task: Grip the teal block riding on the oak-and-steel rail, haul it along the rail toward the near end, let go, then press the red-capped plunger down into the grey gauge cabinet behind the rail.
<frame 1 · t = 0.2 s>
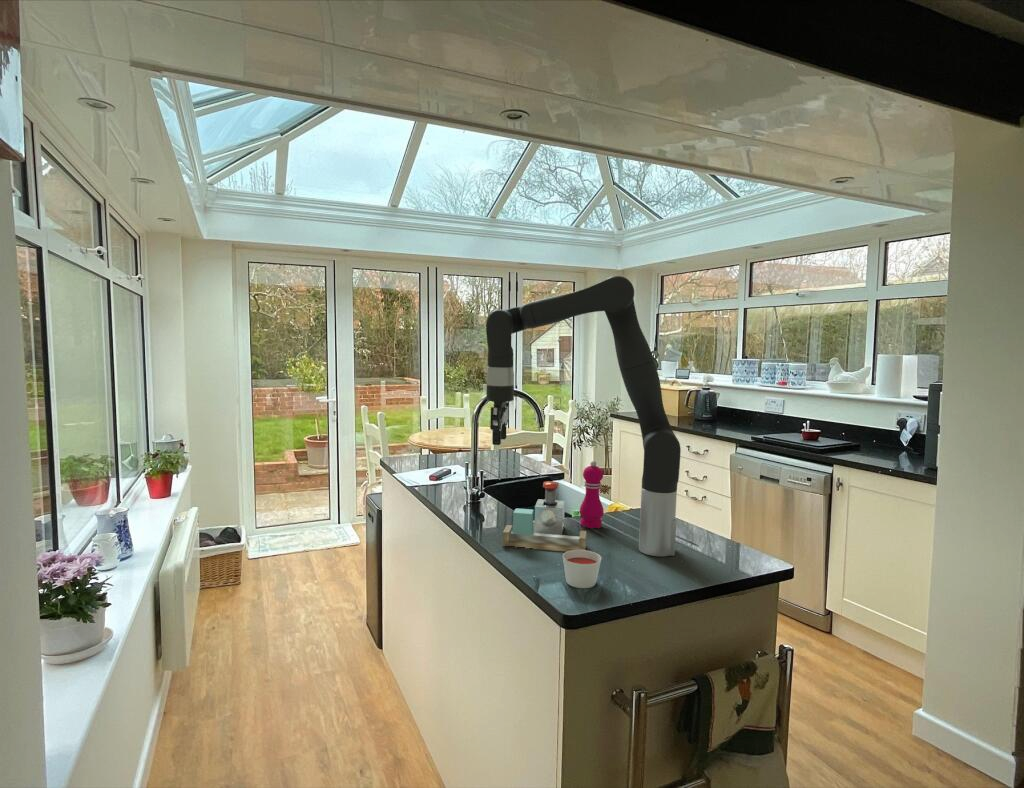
hand: (499, 441, 167), 28 cm above the countertop, tool pointing down, fingers open, 8 cm apart
rail: (544, 545, 165), on the countertop
pepper mill: (590, 526, 183), on the countertop
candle: (580, 583, 142), on the countertop
teal block: (523, 521, 165), point 6 cm above the countertop, slide at 0.0 cm
gauge cabinet: (549, 530, 178), on the countertop
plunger: (550, 498, 177), point 10 cm above the countertop, slide at 0.0 cm
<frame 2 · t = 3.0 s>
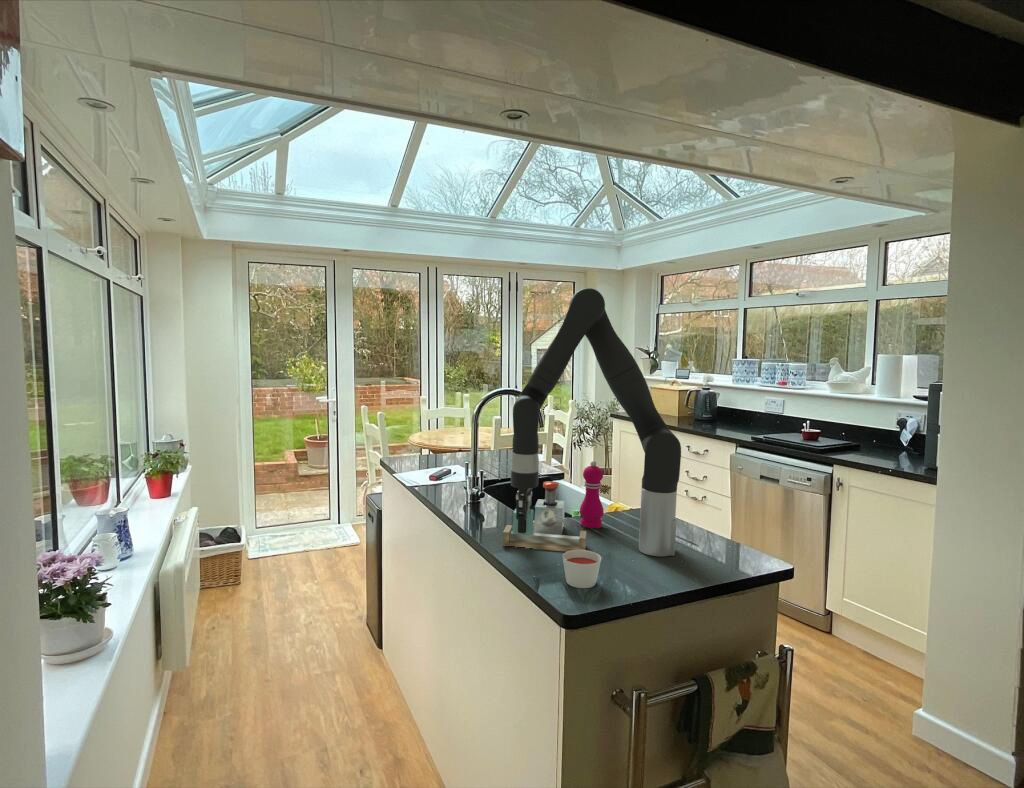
hand: (523, 529, 165), 4 cm above the countertop, tool pointing down, fingers closed on teal block, 4 cm apart
teal block: (523, 521, 165), point 6 cm above the countertop, slide at 0.0 cm, touching gripper
everything else where it was.
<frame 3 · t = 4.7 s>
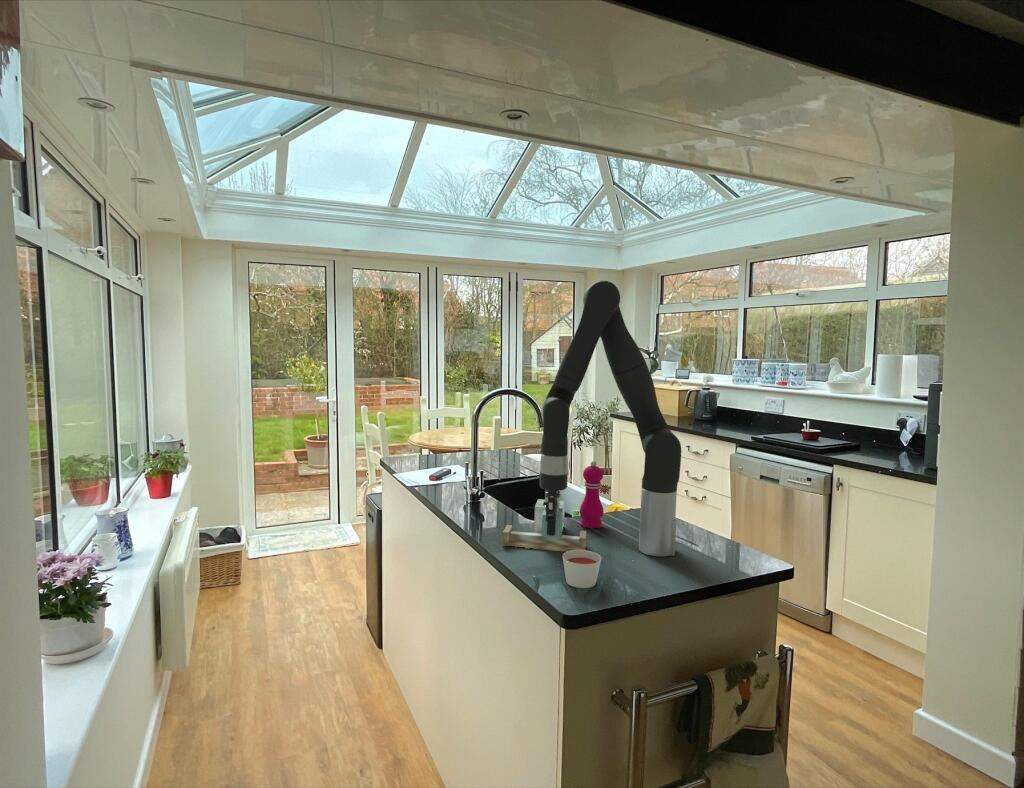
hand: (551, 531, 164), 4 cm above the countertop, tool pointing down, fingers closed on teal block, 4 cm apart
teal block: (552, 523, 164), point 6 cm above the countertop, slide at 7.9 cm, touching gripper
everything else where it was.
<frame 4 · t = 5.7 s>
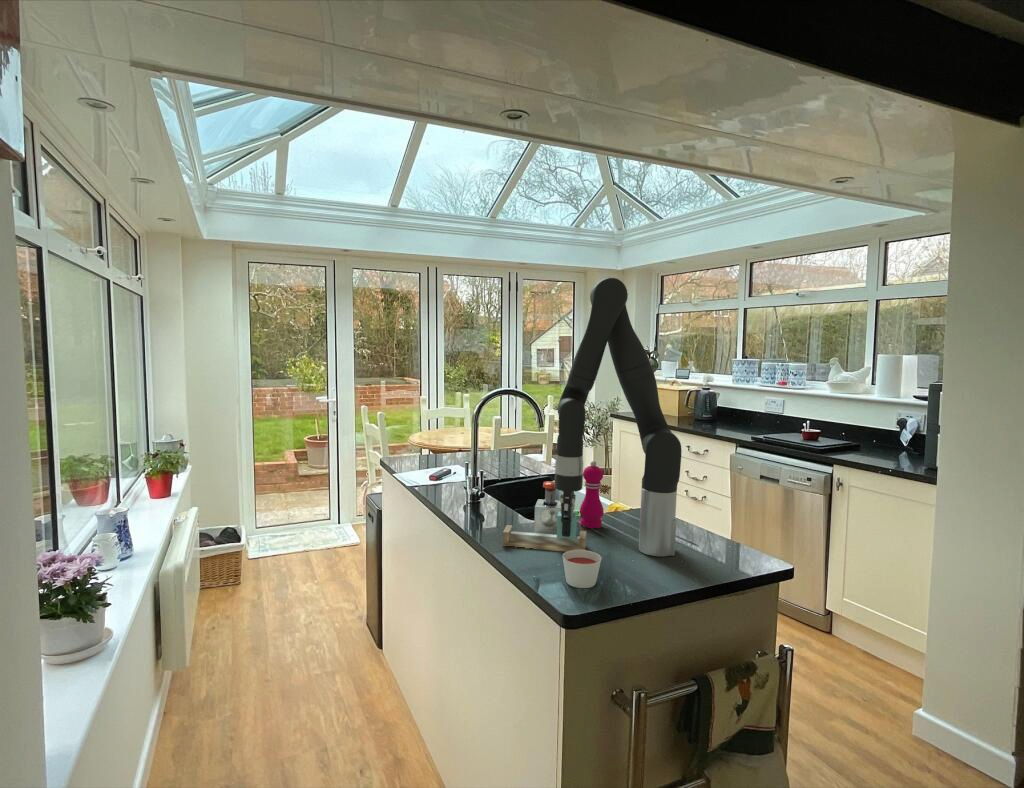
hand: (566, 533, 164), 4 cm above the countertop, tool pointing down, fingers closed on teal block, 4 cm apart
teal block: (566, 525, 163), point 6 cm above the countertop, slide at 11.9 cm, touching gripper
everything else where it was.
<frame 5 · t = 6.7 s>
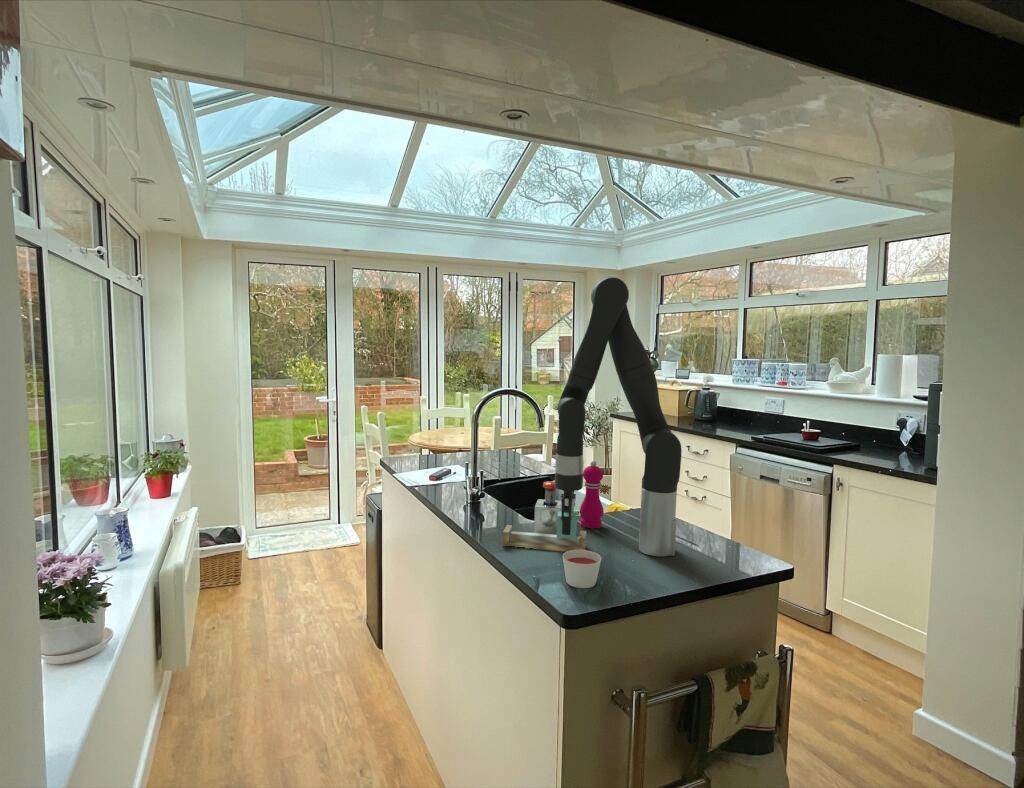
hand: (567, 529, 163), 5 cm above the countertop, tool pointing down, fingers open, 8 cm apart
teal block: (567, 525, 163), point 6 cm above the countertop, slide at 11.9 cm
everything else where it was.
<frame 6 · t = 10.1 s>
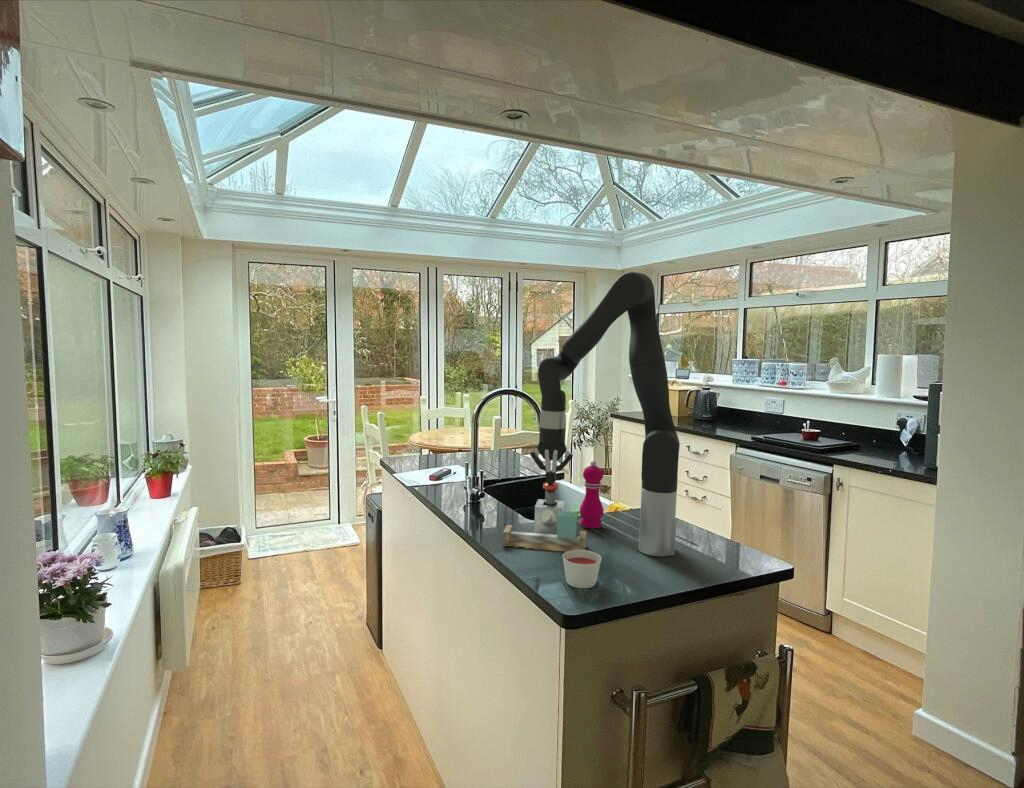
hand: (550, 484, 176), 14 cm above the countertop, tool pointing down, fingers closed
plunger: (550, 499, 177), point 9 cm above the countertop, slide at 0.3 cm, touching gripper
everything else where it was.
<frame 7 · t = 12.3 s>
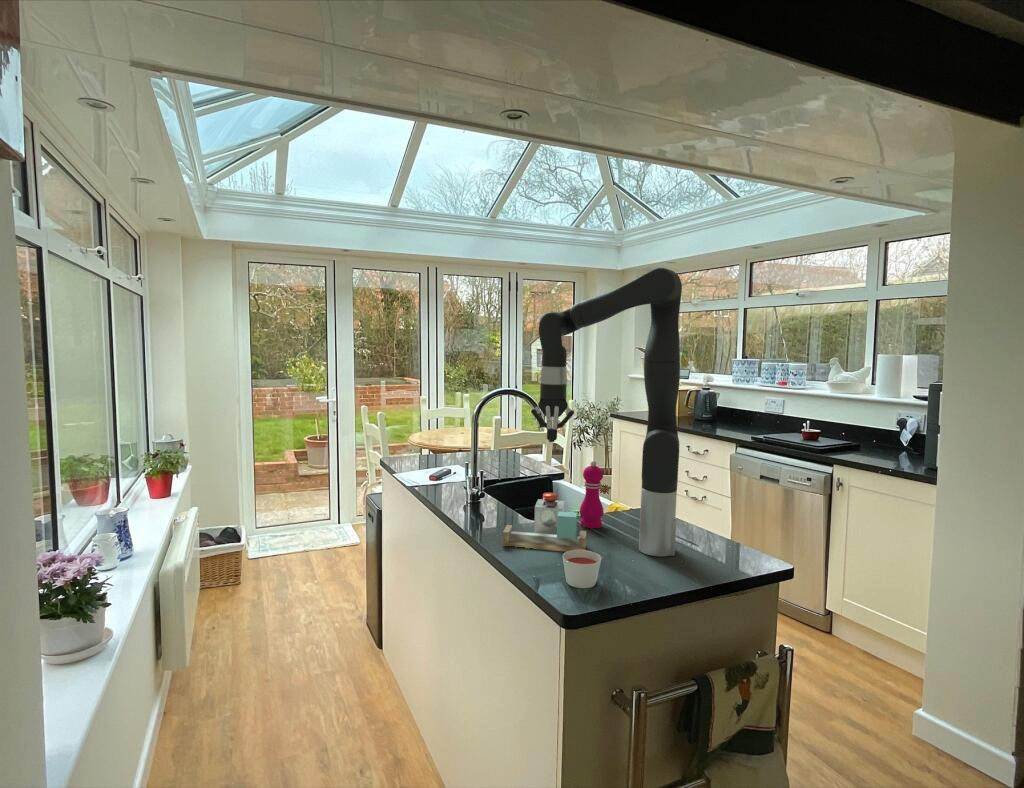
hand: (551, 441, 175), 27 cm above the countertop, tool pointing down, fingers closed
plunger: (549, 509, 177), point 6 cm above the countertop, slide at 3.5 cm
everything else where it was.
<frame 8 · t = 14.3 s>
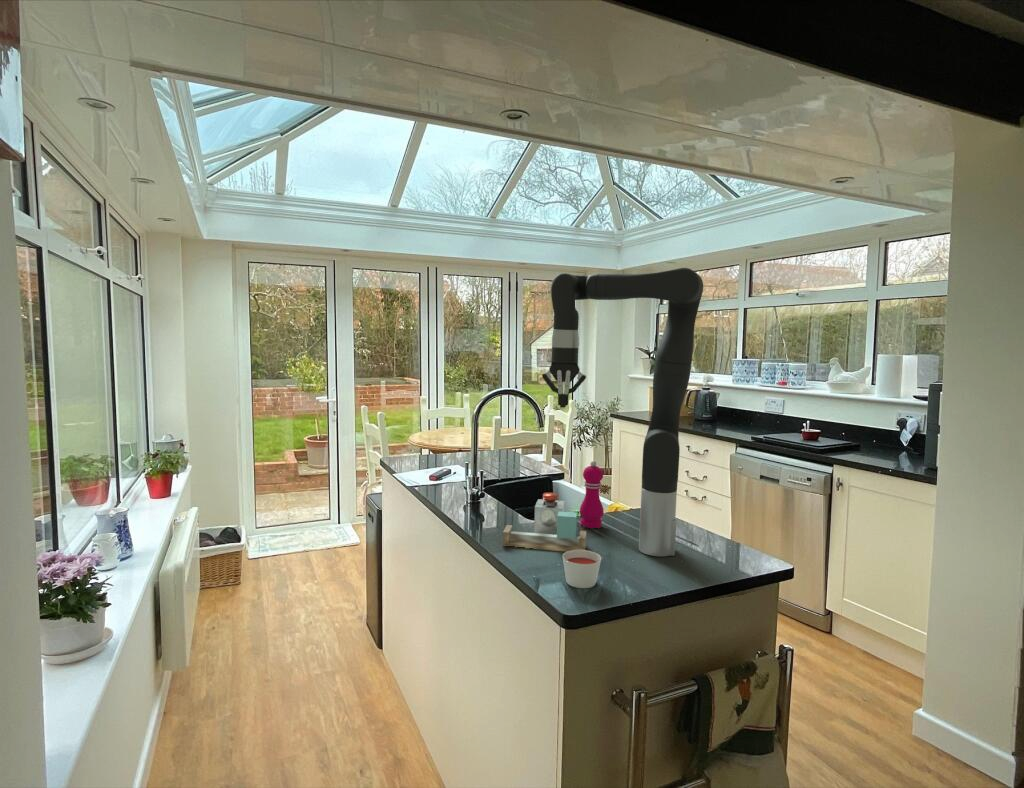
hand: (563, 407, 171), 37 cm above the countertop, tool pointing down, fingers closed
nothing on the countertop moved.
at the end: teal block slide at 11.9 cm; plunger slide at 3.5 cm; the gripper is holding nothing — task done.
